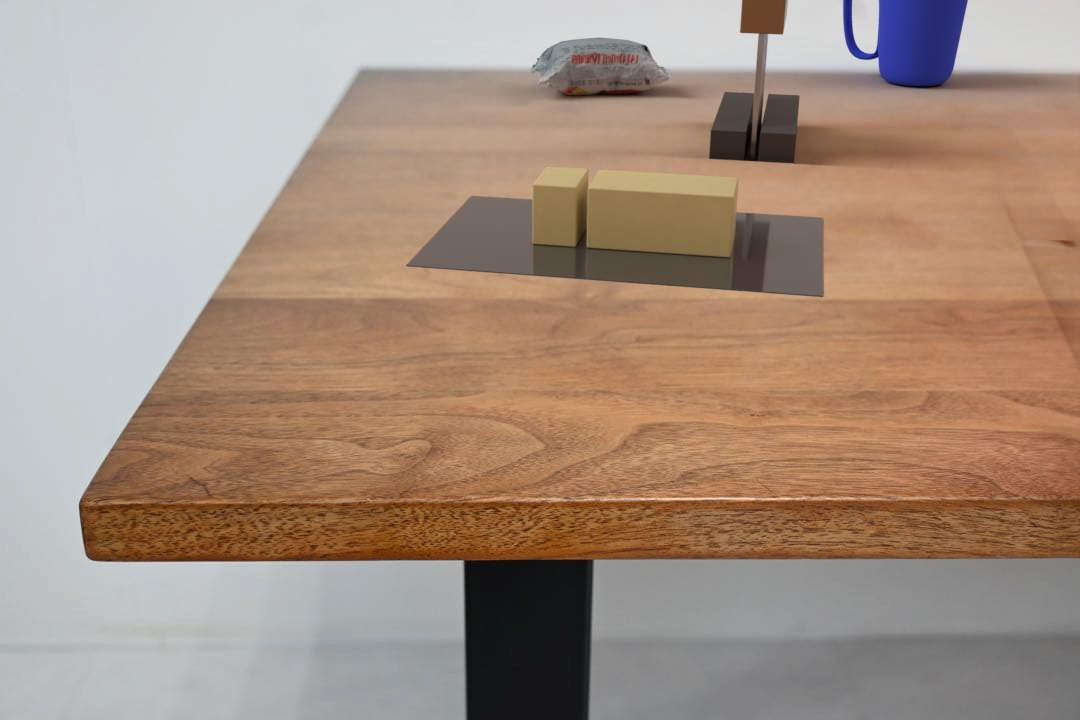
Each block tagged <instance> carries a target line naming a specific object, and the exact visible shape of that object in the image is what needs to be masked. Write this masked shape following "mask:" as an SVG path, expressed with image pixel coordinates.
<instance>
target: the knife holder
mask: <svg viewBox="0 0 1080 720" xmlns="http://www.w3.org/2000/svg"><path fill="white" fill-rule="evenodd" d="M800 99H801V98H800V94H781V93H780V94H779V93H768V94H767V98H766V103H765V104H766V105H765V107H764V108H765V109H764V112H763V117H762V123H761V132H760V137H759V142H758V147H757V152H756V157H755V160H750V146H751V132H752V118H753V104H754V92H736V91H734V92H733V91H724V92H723V95H722V98H721V102H720V104H719V106H718V109H717V112H716V115H715V118H714V121H713V123H712V126H711V129H710V138H709V151H708V153H709V154H708V159H709V160H722V161H740V162H756V163H757V162H758V163H759V162H760V163H775V164H778V163H779V164H792V165H793V164H795V156H796V155H795V154H796V145H797V132H798V122H799V121H798V120H799V111H800V110H799V108H800Z"/></svg>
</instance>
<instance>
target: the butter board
mask: <svg viewBox="0 0 1080 720" xmlns="http://www.w3.org/2000/svg"><path fill="white" fill-rule="evenodd" d="M532 225H533V198H531V199H529V198H516V197H514V198H513V197H499V196H482V195H481V196H480V195H470V196H469V197H468V198H467V200H466V201H465V202H464V203H463V204H462V205H461V206H460V207H459V208H458V209H457V210H456V211H455V213H453V214H452V215H451V216H450V218H449V219H447V221H445V223H444V224H443V225H442V226H441V227H440V228H439V229H438V230H437V232H435V234H433V236H432V237H431V238H430V239H429V240H428V241H427V242H426V244H424V245H423V247H422V248H421V249H420V250H418V252H417V253H416V254H415V255H414V256H413V257H411V259H410V260H409V261H408V262H407V263H406V265H405V267H409V268H423V269H437V270H450V271H465V272H476V273H491V274H505V275H518V276H532V277H546V278H556V279H557V278H559V279H572V280H587V281H598V282H599V281H600V282H612V283H613V282H614V283H625V284H626V283H627V284H640V285H654V286H667V287H668V286H669V287H678V288H679V287H681V288H693V289H706V290H707V289H709V290H720V291H722V290H723V291H734V292H748V293H763V294H777V295H787V296H788V295H789V296H802V297H816V298H824V217H819V216H818V217H817V216H805V215H804V216H803V215H787V214H786V215H785V214H770V213H757V212H756V213H755V212H739V211H736V226H735V237H734V242H733V246H732V251H731V256H730V257H729V258H727V257H713V256H698V255H684V254H669V253H655V252H640V251H626V250H611V249H597V248H587V228H586V229H585V231H584V233H583V235H582V236H581V238H580V240H579V242H578V243H577V245H576V247H567V246H553V245H538V244H533V243H532Z"/></svg>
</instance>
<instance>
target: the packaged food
mask: <svg viewBox="0 0 1080 720" xmlns="http://www.w3.org/2000/svg"><path fill="white" fill-rule="evenodd" d="M530 71H531V74H533V75H534V74H535V73H539V74H540V75H541V77H540V79H539V80H538V82H537V86H543V85H547V84H550V85H551V86H552V87H553V88H554V89H555V90H556V91H558V92H560V93H561V94H565V95H569V96H598V95H606V96H607V95H608V96H621V95H631V94H635V93H641V92H644V91H647V90H651V89H652V88H653V87H654V86H657V85H662V83H664V82H665V83H666V82H669V80H670V79H671V78H672V76H673V75H672V74H673V71H672V69H670V68H666V67H664V66H660V65H659V64H658V63H657V61H656V60H655V59H654V58H653V55H652V52H651V50H650V49H649V47H648V46H647V45H646V44H644V43H640V42H638V41H637V42H636V41H633V40H629V39H623V38H622V39H621V38H610V37H589V38H576V39H567V40H561V41H559V42H557V43H555V44H553V45H551V46H549V47H548V48H546V49H545V50H544V51H543V52H542V53H541V54H540V56H539V57H537V58H536V63H534V64H533V65H532V67H531V68H530Z"/></svg>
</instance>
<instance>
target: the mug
mask: <svg viewBox="0 0 1080 720" xmlns="http://www.w3.org/2000/svg"><path fill="white" fill-rule="evenodd" d="M968 2H969V0H878V24H877V27H878V28H877V42H876V48H875V51H874V52H873V53H868V52H865V51H863V50H861V48H859V46H858V45H857V43H856V39H855V35H854V28H853V0H842V21H843V33H844V40H845V44H846V47H847V49H848V52H849V53H850V54H851V55H852V56H853V57H854V58H856V59H858V60H862V61H871V60H876V59H877V60H878V71H879V75H880V77H881V78H882V79H883V80H885V81H886V82H888V83H891V84H895V85H899V86H907V87H908V86H909V87H933V86H938V85H943V84H945V83H946V82H947V81H949V80H950V78H951V77H952V74H953V72H954V68H955V64H956V58H957V54H958V50H959V49H958V48H959V44H960V40H961V35H962V30H963V26H964V20H965V16H966V12H967V6H968Z"/></svg>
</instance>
